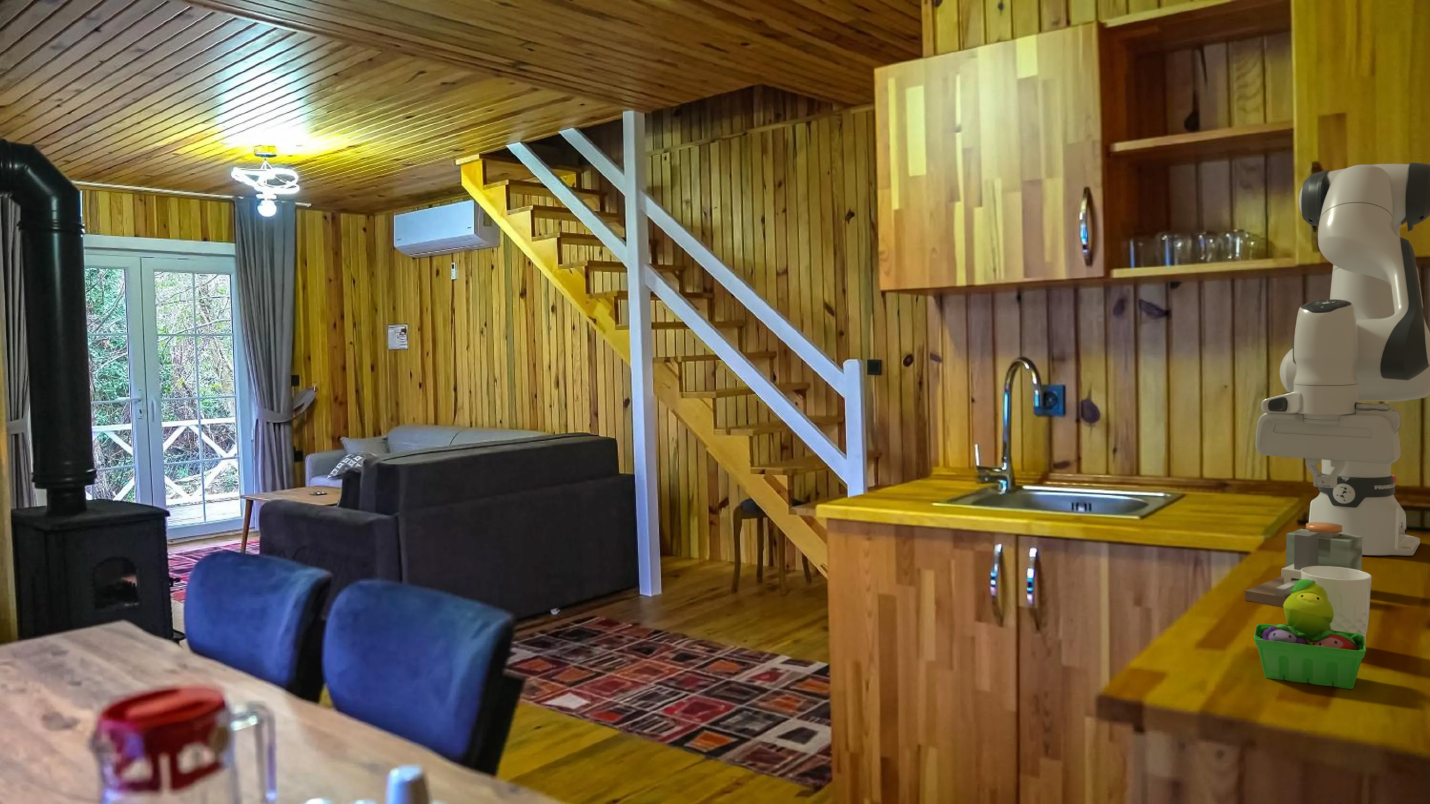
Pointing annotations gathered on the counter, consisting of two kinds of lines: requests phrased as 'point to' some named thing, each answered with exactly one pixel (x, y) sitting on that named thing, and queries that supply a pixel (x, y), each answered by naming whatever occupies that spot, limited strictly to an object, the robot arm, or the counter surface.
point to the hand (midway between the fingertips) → (1325, 486)
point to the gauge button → (1324, 529)
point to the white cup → (1344, 595)
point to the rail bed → (1330, 553)
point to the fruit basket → (1309, 642)
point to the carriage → (1302, 555)
